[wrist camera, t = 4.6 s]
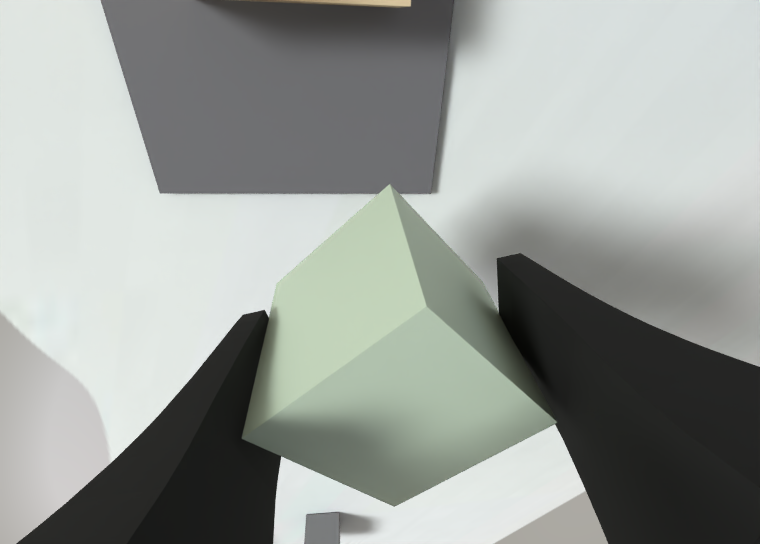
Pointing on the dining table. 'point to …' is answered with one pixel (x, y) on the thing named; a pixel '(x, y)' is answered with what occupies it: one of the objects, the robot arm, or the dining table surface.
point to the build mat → (285, 93)
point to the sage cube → (389, 361)
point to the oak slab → (349, 2)
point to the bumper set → (322, 528)
